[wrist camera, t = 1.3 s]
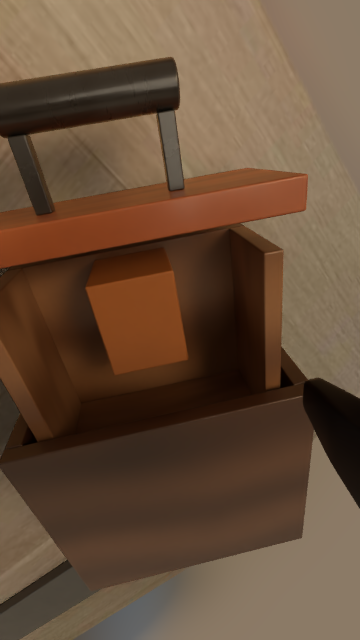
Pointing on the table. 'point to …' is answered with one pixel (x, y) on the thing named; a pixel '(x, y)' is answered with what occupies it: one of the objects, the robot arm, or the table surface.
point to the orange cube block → (137, 310)
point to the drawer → (125, 238)
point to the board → (42, 602)
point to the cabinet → (171, 484)
